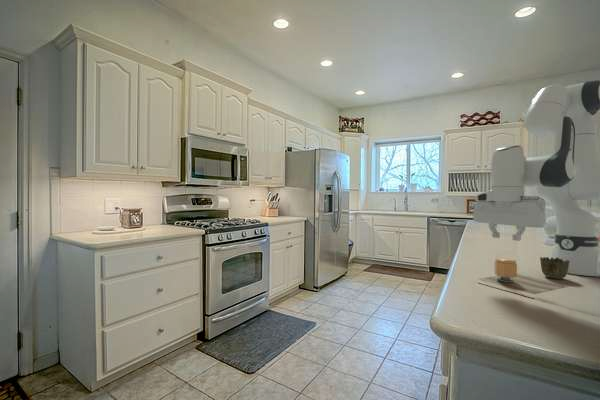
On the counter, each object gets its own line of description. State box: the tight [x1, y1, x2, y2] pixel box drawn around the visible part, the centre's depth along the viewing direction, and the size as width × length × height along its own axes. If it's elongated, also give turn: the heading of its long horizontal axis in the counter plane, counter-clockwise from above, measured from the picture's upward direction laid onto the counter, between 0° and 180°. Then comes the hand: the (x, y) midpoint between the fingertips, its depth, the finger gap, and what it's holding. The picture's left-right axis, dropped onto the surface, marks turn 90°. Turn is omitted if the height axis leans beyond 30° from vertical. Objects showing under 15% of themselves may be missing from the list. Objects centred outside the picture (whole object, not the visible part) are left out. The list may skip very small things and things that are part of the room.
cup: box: [539, 256, 569, 280], centre depth 97 cm, size 8×7×8 cm
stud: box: [497, 277, 514, 283], centre depth 92 cm, size 4×4×6 cm
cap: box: [494, 257, 518, 278], centre depth 92 cm, size 5×5×5 cm
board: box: [477, 273, 571, 300], centre depth 91 cm, size 20×16×2 cm
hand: (505, 239), depth 92 cm, fingers open, 5 cm apart
